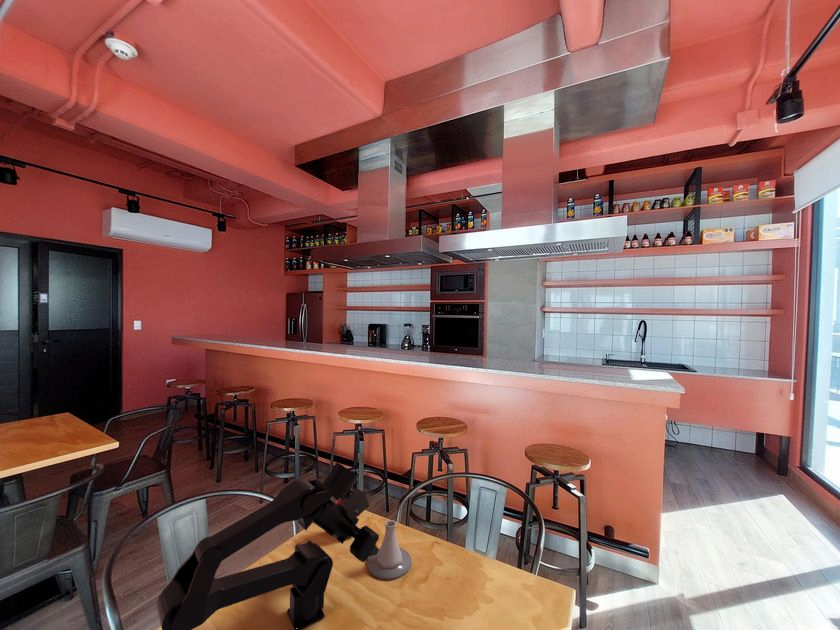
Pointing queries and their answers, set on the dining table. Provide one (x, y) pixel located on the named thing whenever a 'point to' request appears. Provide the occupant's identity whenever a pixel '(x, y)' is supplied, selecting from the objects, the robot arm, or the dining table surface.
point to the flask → (389, 548)
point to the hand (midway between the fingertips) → (366, 543)
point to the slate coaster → (389, 572)
